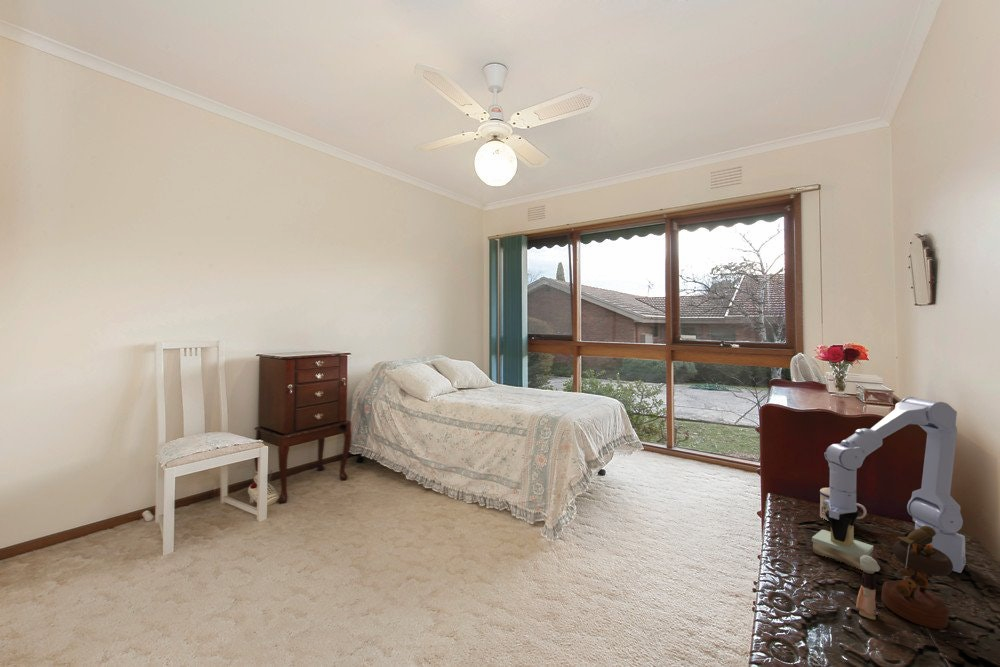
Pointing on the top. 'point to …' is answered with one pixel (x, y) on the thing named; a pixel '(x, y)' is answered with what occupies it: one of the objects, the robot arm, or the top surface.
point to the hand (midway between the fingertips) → (842, 537)
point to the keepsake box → (837, 555)
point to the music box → (918, 580)
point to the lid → (846, 546)
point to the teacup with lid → (825, 507)
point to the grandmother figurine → (867, 587)
